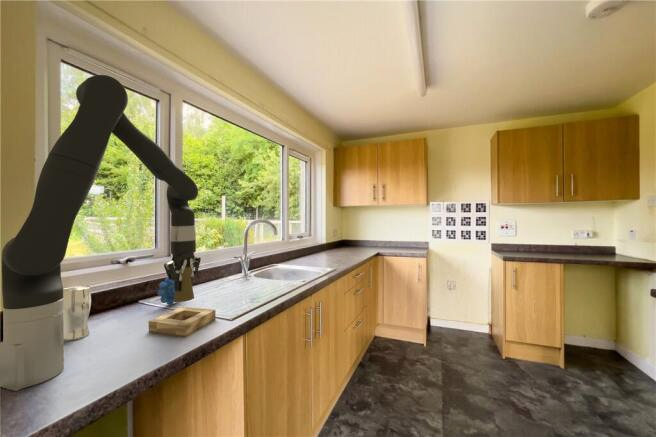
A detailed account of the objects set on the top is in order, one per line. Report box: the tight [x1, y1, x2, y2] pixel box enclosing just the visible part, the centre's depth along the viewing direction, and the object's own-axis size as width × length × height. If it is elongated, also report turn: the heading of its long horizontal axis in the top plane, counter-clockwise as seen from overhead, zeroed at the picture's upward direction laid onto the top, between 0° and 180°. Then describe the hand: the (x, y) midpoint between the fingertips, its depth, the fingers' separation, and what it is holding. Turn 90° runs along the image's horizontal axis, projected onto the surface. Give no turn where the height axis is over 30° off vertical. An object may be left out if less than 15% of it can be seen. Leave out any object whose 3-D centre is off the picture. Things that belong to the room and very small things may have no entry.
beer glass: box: [63, 285, 92, 342], centre depth 80 cm, size 7×7×15 cm
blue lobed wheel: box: [157, 276, 176, 306], centre depth 109 cm, size 12×7×12 cm, turn 164°
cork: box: [174, 267, 195, 303], centre depth 88 cm, size 6×6×11 cm
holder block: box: [148, 306, 216, 338], centre depth 88 cm, size 14×14×4 cm
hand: (184, 289), depth 88 cm, fingers closed on cork, 3 cm apart
